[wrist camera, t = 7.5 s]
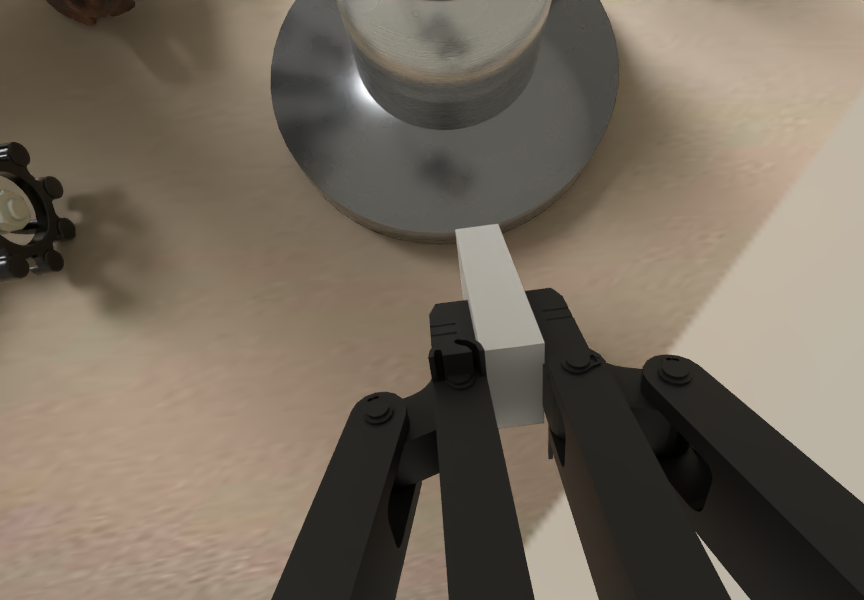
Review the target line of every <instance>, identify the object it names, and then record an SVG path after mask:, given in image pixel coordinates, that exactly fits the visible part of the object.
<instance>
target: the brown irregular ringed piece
mask: <svg viewBox="0 0 864 600" xmlns="http://www.w3.org/2000/svg"><path fill="white" fill-rule="evenodd" d="M46 1H47V2H48V3H49V4H50V5H52V6H53V7H54V8H55V9H56V10H58V11H59V12H61V13H62V14H64V15H65V16H68V17H70V18H73V19H75V20H78V21H80V22H83V23H86V24H90V25H94V24H95V23H96V19H95V17H107V16H117V15H120V14H123V13H125V12H127V11H129V10H130V9H132V8H133V7H134V6H135V2H134V1H133V0H46Z"/></svg>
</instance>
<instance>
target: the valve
mask: <svg viewBox="0 0 864 600" xmlns="http://www.w3.org/2000/svg"><path fill="white" fill-rule="evenodd" d="M29 163H30V156H29V153H28V151H27V150H26V148H25V147H24V146H23V145H21V144H20V143H17V142H9V143H4V144H0V175H1V176H3V177H6V178H8V179H9V180H11V181H12V182H14V183H15V184H16V185H17V186H19V187H20V188H21V189H22V190H23V192H24V193H25V194H26V195H27V197H28V198H29V200H30V201H31V203H32V205H33V208H34V210H35V214H36V219H37V220H31V221H29V220H30V218H31V215H30V211H29V208H28V206H27V204H26V202H25V201H24V199H23V198H22V197H20V196H19V195H17V194H15V193H12V192H10V191H7V190H0V282H4V281H10V280H16V279H22V278H25V277H26V276H27V275H28V273H29V269H30V271H32V272H33V273H34V274H37V275H42V274H48V273H54V272H59V271H61V270H62V268H63V266H64V260H63V258H62V256H61V254H60V253H59V252H58V251H56V250H54V249H53V242H60V241H66V240H71V239H73V238H74V237H75V233H76V232H75V226H74V224H73V223H72V222H71V221H70V220H69V219H67V218H59V217H58V216H57V215H56V213H55V210H54V207H53V203H52V201H53V200H54V199H59V198H61V197H62V195H63V187H62V185H61V183H60V182H59V181H58V180H57V179H56V178H55V177H52V176H47V177H41V178H36V179H35V178H34V177H33V176H32V175H31V174H30V173H29V171H28V169H27V165H28V164H29ZM8 233H15V234H35V235H34V237H33V239H32V240H31V241H30V242H29V243H28V244H27V245H24V246H22V245H18V244H15V243H13V242H10V241H9V240H7V239H6V238H4V237H3V236H1V235H3V234H8ZM27 258H32V259H34V261H35V262H36V264H35V265H34V266H32V267H30V268H29V264H28V262H27V260H26V259H27Z"/></svg>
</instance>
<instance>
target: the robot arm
mask: <svg viewBox="0 0 864 600" xmlns="http://www.w3.org/2000/svg"><path fill="white" fill-rule="evenodd" d="M455 233H456V242H457V251H458V260H459V269H460V278H461V288H462V296H463V301H456V302H448V303H440V304H435V306H434V307H433V309H432V311H431V313H430V315H429V318H430V332H431V345H432V348H431V350H430V352H429V357H428V358H429V364H430V370H431V376H432V379H431V381H430V382H429V384H428V385H427V386H426V387H425V388H424V389H422V390H421V391H420V392H418V393H416V394H414V395H412V396H409V397H407V398H404V399H402V398H401V397H399V396H398V395H396V394H394V393H389V392H378V393H373V394H371V395H368V396H366V397H364V398H363V399H361V400H360V401H359V402H358V403H357V404H356V405H355V406H354V408H353V409H352V411H351V413H350V416H349V418H348V420H347V423H346V425H345V427H344V430H343V432H342V434H341V437H340V439H339V442H338V444H337V446H336V449H335V451H334V453H333V456H332V458H331V460H330V463H329V465H328V467H327V470H326V472H325V474H324V477H323V479H322V481H321V484H320V486H319V489H318V491H317V493H316V496H315V498H314V500H313V503H312V505H311V507H310V510H309V512H308V514H307V517H306V519H305V521H304V524H303V526H302V529H301V531H300V533H299V536H298V538H297V540H296V543H295V545H294V547H293V550H292V552H291V554H290V557H289V559H288V561H287V564H286V566H285V569H284V571H283V573H282V576H281V578H280V580H279V583H278V585H277V587H276V590H275V592H274V594H273V597H272V599H271V600H395V598H396V593H397V589H398V585H399V580H400V576H401V572H402V567H403V563H404V559H405V554H406V550H407V546H408V541H409V537H410V533H411V528H412V524H413V520H414V515H415V511H416V507H417V502H418V498H419V494H420V489H421V485H422V480H424V479H426V478H429V477H431V476H433V475H435V474H438V473H440V487H441V500H442V513H443V527H444V540H445V553H446V567H447V580H448V593H449V600H535V599H534V594H533V589H532V585H531V580H530V576H529V571H528V567H527V562H526V557H525V552H524V547H523V543H522V538H521V533H520V529H519V524H518V519H517V515H516V510H515V505H514V501H513V496H512V491H511V487H510V482H509V477H508V473H507V468H506V463H505V459H504V454H503V449H502V445H501V440H500V435H499V431H498V429H499V428H507V427H515V426H523V425H531V424H539V423H544V411H545V414H546V418H547V421H548V424H549V431H548V457H549V459H553V454H554V458H555V461H556V464H557V467H558V470H559V474H560V477H561V480H562V483H563V486H564V489H565V493H566V496H567V499H568V502H569V505H570V509H571V512H572V515H573V518H574V521H575V525H576V528H577V531H578V534H579V537H580V540H581V543H582V547H583V550H584V553H585V556H586V559H587V563H588V566H589V569H590V572H591V576H592V579H593V582H594V585H595V588H596V592H597V595H598V598H599V600H731V598H730V596H729V594H728V593H727V591H726V589H725V587H724V585H723V583H722V581H721V580H720V577H719V576H718V574H717V572H716V570H715V568H714V566H713V564H712V562H711V560H710V559H709V557H708V555H707V553H706V551H705V549H704V547H703V545H702V543H701V541H700V539H699V538H698V536H697V534H698V535H699V536H700V538H701V539H702V540H703V541H704V543H705V544H706V545H707V546H708V548H709V549H710V550H711V551H712V553H713V554H714V555H715V556H716V557H717V559H718V560H719V561H720V562H721V563H722V565H723V566H724V567H725V569H726V570H727V571H728V572H729V573H730V575H731V576H732V577H733V579H734V580H735V581H736V582H737V583H738V585H739V586H740V587H741V588H742V590H743V591H744V592H745V593H746V595H747V596H748V597H749V598H750V599H751V600H864V504H863V503H862V502H861V501H860V500H859V499H857V498H856V497H855V496H854V495H853V494H852V493H850V492H849V491H848V490H847V489H846V488H844V487H843V486H842V485H841V484H840V483H839V482H837V481H836V480H835V479H834V478H833V477H831V476H830V475H829V474H828V473H827V472H825V471H824V470H823V469H822V468H821V467H819V466H818V465H817V464H816V463H815V462H814V461H812V460H811V459H810V458H809V457H807V456H806V455H805V454H804V453H803V452H802V451H800V450H799V449H798V448H797V447H796V446H794V445H793V444H792V443H791V442H790V441H789V440H787V439H786V438H785V437H784V436H782V435H781V434H780V433H779V432H778V431H777V430H775V429H774V428H773V427H772V426H770V425H769V424H768V423H767V422H766V421H765V420H763V419H762V418H761V417H760V416H759V415H757V414H756V413H755V412H754V411H753V410H751V409H750V408H749V407H748V406H747V405H746V404H744V403H743V402H742V401H741V400H740V399H738V398H737V397H736V396H735V395H734V394H733V393H731V392H730V391H729V390H728V389H727V388H725V387H724V386H723V385H722V384H721V383H719V382H718V381H717V380H716V379H715V378H713V377H712V376H711V375H710V374H709V373H708V372H706V371H705V370H704V369H703V368H702V367H700V366H699V365H698V364H696V363H694V362H693V361H691V360H689V359H686V358H683V357H680V356H675V355H659V356H654V357H653V358H651V359H649V360H647V361H646V363H645V364H644V366H643V369H636V368H626V367H619V366H614V365H611V364H608V363H606V361H605V360H604V359H603V358H602V357H601V355H600V354H598V353H596V352H595V351H593V350H591V349H589V347H588V345H587V344H586V342H585V340H584V338H583V336H582V334H581V332H580V330H579V328H578V326H577V324H576V322H575V320H574V318H573V317H572V314H571V312H570V310H569V309H568V306H567V304H566V302H565V300H564V298H563V296H562V295H560V294H559V293H557V292H556V291H555V290H553V289H552V288H545V289H538V290H530V291H524V289H523V286H522V284H521V281H520V279H519V276H518V273H517V271H516V268H515V266H514V263H513V261H512V258H511V256H510V253H509V250H508V248H507V245H506V243H505V240H504V238H503V235H502V232H501V230H500V227H499V225H498V224H492V225H485V226H477V227H470V228H463V229H455ZM696 533H697V534H696Z"/></svg>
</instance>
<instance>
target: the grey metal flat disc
mask: <svg viewBox="0 0 864 600" xmlns="http://www.w3.org/2000/svg"><path fill="white" fill-rule="evenodd" d="M618 67H619V61H618V54H617V47H616V40H615V37H614V34H613V30H612V27H611V23H610V21H609V18H608V16H607V14H606V12H605V10H604V7H603V5H602V3H601V2H600V0H552V1H551V5H550V10H549V14H548V18H547V22H546V26H545V30H544V34H543V38H542V42H541V46H540V50H539V55H538V59H537V63H536V66H535V70H534V73H533V75H532V77H531V79H530V82H529V83H528V85H527V86H526V88H525V90H524V91H523V92H522V94H521V95H520V96H519V97H518V98H517V100H516V101H515V102H513V103H512V104H511V105H510V106H509V107H508V108H507V109H505V110H504V111H503V112H501V113H500V114H498V115H497V116H495V117H493V118H491V119H489V120H487V121H485V122H482V123H480V124H477V125H474V126H470V127H467V128H462V129H454V130H434V129H426V128H422V127H417V126H414V125H411V124H408V123H406V122H403V121H401V120H399V119H397V118H396V117H394V116H392V115H391V114H389V113H388V112H386V111H385V110H384V109H383V108H382V107H381V106H379V105H378V104H377V103H376V102H375V100H374V99H373V98H372V97H371V96H370V94H369V93H368V91H367V90H366V88H365V86H364V85H363V82H362V80H361V77H360V75H359V72H358V69H357V65H356V62H355V59H354V56H353V53H352V49H351V46H350V43H349V40H348V36H347V33H346V30H345V27H344V23H343V20H342V17H341V14H340V10H339V7H338V4H337V1H336V0H295V2H294V4H293V5H292V7H291V8H290V10H289V11H288V14H287V16H286V18H285V20H284V22H283V24H282V27H281V29H280V32H279V35H278V38H277V41H276V45H275V48H274V54H273V60H272V66H271V94H272V102H273V109H274V112H275V116H276V120H277V123H278V127H279V129H280V132H281V134H282V136H283V138H284V141H285V143H286V145H287V147H288V149H289V150H290V152H291V153H292V155H293V156H294V158H295V160H296V161H297V163H298V164H299V166H300V167H301V169H302V170H303V171H304V173H305V174H306V176H307V177H308V179H309V180H310V181H311V183H312V184H313V185H314V186H315V187H316V189H317V190H318V191H319V192H320V193H321V194H322V196H323V197H324V198H325V199H326V200H328V201H329V202H330V203H331V204H332V205H333V206H334V207H335V208H337V209H338V210H339V211H340V212H342V213H343V214H345V215H346V216H348V217H349V218H351V219H352V220H354V221H355V222H357V223H359V224H361V225H363V226H365V227H367V228H369V229H371V230H373V231H375V232H378V233H381V234H384V235H387V236H390V237H393V238H396V239H401V240H406V241H411V242H416V243H428V244H453V243H457V242H456V233H455V229H463V228H470V227H477V226H485V225H492V224H498V225H499V227H500V230H501V232H502V233H504V232H507V231H509V230H511V229H513V228H515V227H517V226H519V225H522V224H524V223H526V222H527V221H529V220H531V219H532V218H534V217H535V216H537V215H538V214H540V213H542V212H543V211H545V210H546V209H547V208H548V207H549V206H551V205H552V204H553V203H554V202H555V201H556V200H558V199H559V198H560V197H561V196H562V195H563V194H564V193H565V192H566V191H567V190H568V188H569V187H570V186H571V185H572V184H573V183H574V182H575V181H576V179H577V178H578V176H579V175H580V173H581V172H582V170H583V169H584V167H585V166H586V164H587V163H588V161H589V159H590V158H591V156H592V154H593V152H594V151H595V149H596V147H597V146H598V144H599V142H600V140H601V138H602V136H603V134H604V132H605V130H606V128H607V125H608V123H609V120H610V117H611V114H612V111H613V108H614V104H615V100H616V93H617V87H618Z"/></svg>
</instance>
